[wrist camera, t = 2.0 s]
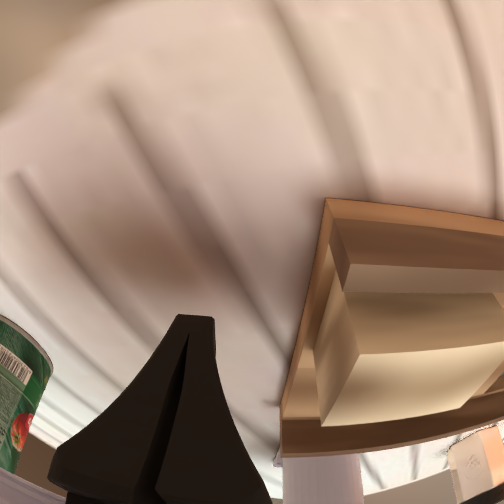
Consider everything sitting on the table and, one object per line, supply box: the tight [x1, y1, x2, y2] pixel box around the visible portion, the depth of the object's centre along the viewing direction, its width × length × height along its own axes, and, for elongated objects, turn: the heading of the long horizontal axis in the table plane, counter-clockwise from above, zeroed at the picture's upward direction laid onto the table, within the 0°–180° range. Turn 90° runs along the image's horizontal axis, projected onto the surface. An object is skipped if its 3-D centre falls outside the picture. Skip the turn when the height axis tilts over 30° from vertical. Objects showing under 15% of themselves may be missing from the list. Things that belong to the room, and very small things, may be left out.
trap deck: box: [280, 198, 504, 458], centre depth 15 cm, size 16×26×4 cm, turn 87°
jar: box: [447, 426, 504, 504], centre depth 26 cm, size 9×8×12 cm
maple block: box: [313, 270, 504, 427], centre depth 11 cm, size 5×7×4 cm
